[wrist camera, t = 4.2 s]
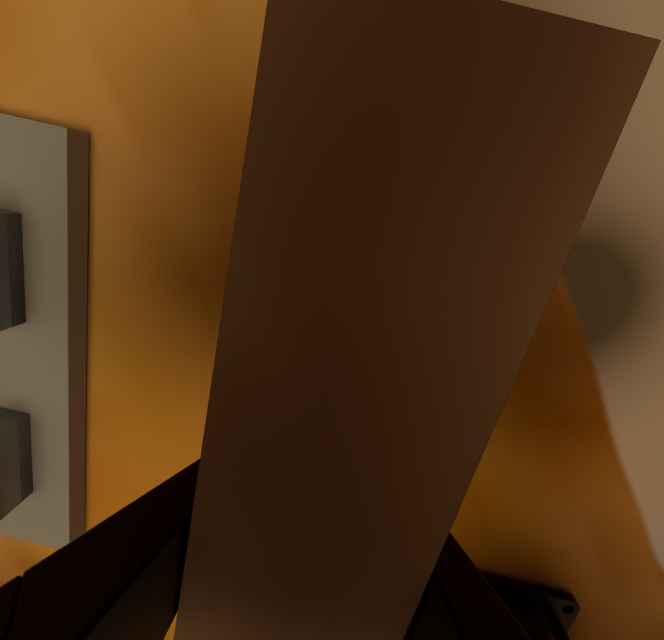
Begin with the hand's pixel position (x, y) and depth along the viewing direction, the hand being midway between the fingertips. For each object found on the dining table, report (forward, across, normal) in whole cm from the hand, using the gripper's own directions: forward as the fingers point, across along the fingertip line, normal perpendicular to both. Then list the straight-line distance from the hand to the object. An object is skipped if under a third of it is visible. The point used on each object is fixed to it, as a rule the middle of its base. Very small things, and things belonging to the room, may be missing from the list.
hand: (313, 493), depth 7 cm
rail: (+2, 0, 0) cm, 2 cm away
